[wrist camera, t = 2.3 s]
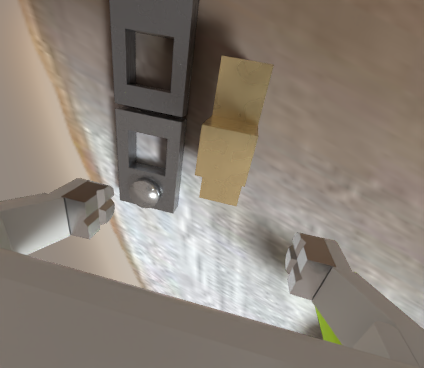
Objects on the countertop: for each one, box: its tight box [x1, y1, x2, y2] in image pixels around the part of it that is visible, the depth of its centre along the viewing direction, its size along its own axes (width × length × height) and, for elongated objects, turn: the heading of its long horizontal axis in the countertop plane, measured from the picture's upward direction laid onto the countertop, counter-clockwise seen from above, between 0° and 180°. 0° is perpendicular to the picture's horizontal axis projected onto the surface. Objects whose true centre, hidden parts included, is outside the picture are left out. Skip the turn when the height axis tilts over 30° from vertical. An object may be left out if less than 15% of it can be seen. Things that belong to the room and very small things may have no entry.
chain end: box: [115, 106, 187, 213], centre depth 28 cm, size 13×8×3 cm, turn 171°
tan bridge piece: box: [195, 56, 274, 206], centre depth 20 cm, size 13×4×10 cm, turn 171°
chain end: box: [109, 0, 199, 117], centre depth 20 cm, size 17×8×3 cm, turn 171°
